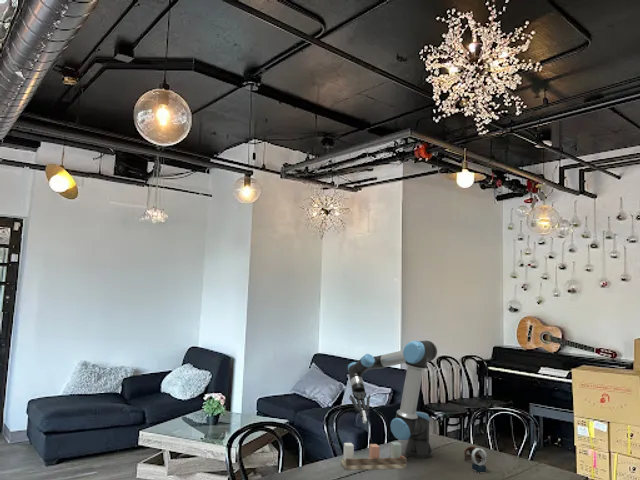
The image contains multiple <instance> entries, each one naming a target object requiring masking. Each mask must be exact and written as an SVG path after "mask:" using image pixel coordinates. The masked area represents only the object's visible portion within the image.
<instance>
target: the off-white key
mask: <svg viewBox="0 0 640 480" xmlns="http://www.w3.org/2000/svg"><path fill="white" fill-rule="evenodd" d="M354 447H355V445H354V444H353V443H352V442H344V443H343V459H344V460H345V462H346V459H354V455H355V454H354V453H355V451H354V450H355V448H354Z"/></svg>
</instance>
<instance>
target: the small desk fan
mask: <svg viewBox="0 0 640 480" xmlns="http://www.w3.org/2000/svg"><path fill="white" fill-rule="evenodd" d="M478 450H479V451H478ZM477 451H478V452H479V454H480V455H481V457H482V458H483V460H481V461H480V462H477V459H476V458H475V453H476V452H477ZM471 457H472V459H471V460H472V462H473V463H472V464H471V470H472V469H474V470H476V471H477V472H476V471H475V472H476V473H478V472H479V473H478V474H481V473H480V472H486V473H487V466H486V465H484V464H486V462H487V458H488V454H487V452H486V451H485V450H484V449H483V448H479V447H476V448H475V449H474V450H473V452H472V456H471ZM474 470H473V471H474Z"/></svg>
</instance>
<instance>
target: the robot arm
mask: <svg viewBox="0 0 640 480" xmlns="http://www.w3.org/2000/svg"><path fill="white" fill-rule="evenodd" d="M437 355H438V349H437V346H436V345H435V344H434V342H432V341H430V340H413V341H410V342H408V343H406V345H405V346H404V348H403V349H401V350H398V351H394V352H390V353H385V354H381V355H377V356H373V355H372V354H370V353H365V354H364V355H363V356H362V357H361V358H360V359H358V361H353V362H351V363H349V364H348V365H347V372H348V376H349V382H350V385H351V386H350V387H351V391H352V394H350V395H349V397H348V399H349V400H350V402H351V403H352V406H353V408H354V410H355V412H357V413H358V414H359V416H360V418H362V424H367V421H368V419H367V417H368V412H369V410H370V400H371V395H370V394H369V395H368V394H367V392H366V389H365V384H364V380H363V376H362V375H363V374H365V373H366V372H367V371H369V370H370V371H371V370H378V369H384V368H388V367H392V366H396V365H397V366H398V365H403V364H405V365H406V367H407V368H406V371H405V372H406V374H405V380H404V384H403V388H402V389H403V390H402V396H401V400H400V401H401V402H400V409H398V410H396V414H395V418H393V419H392V420H391V421H390V431H391V433H392V435H393V437H394V438H396V439H397V440H399V441H407V442H406V445H405V448H404V454H405V455H406V456H408V457H410V458H414V459H428V458H432V457H433V450H432V446H431V443H430V416H429V414H428V413H426V412H422V411H418V410H417V407H418V402H419V396H420V391H421V386H422V385H421V384H422V378H423V373H424V370H426V369H427V366H428V362H432V361H434V359H436V357H437ZM365 399H366V401H365Z"/></svg>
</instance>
